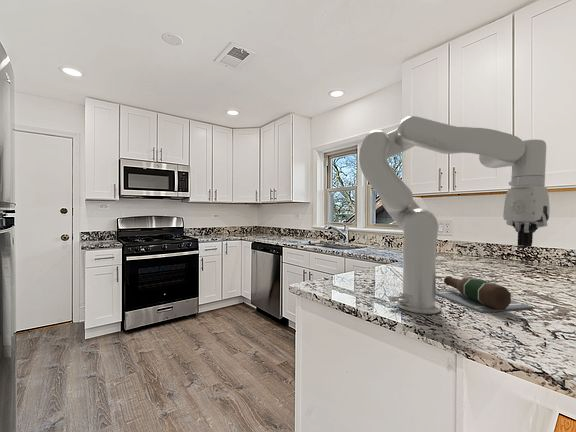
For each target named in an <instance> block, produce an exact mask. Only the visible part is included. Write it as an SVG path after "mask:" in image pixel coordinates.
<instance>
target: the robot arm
mask: <svg viewBox="0 0 576 432" xmlns="http://www.w3.org/2000/svg"><path fill="white" fill-rule="evenodd" d="M414 147H418V148H422V149H426V150H429V151H433V152H437V153H438V154H439V153H440V154H444V155H451V154H462V153H463V154H472V155H473V154H475V155H478V159H479V162H480V164H481V165H483V166H484V167H486V168H490V169H499V168H505V167H506V168H507V167H511V176H510V177H511V179H510V181H508V186H509V187H510V188H508V189H507V192H506V195H505V199H504V204H503V211H502V212H503V215H502V216H503V220H504V221H506V223H505V224H506V225H507V226H510V227H513V228H514V229H515V232H516V233H517V246H518V247H532V246H533V236H534V235H533V234H535V233H536V230H538V229H539V228H546V227H548V221H549V219H550V197H549V192H548V187H547V186H546V184H545V183H546V165H547V162H546V161H547V143H546V141H545V140H543V139H526V140H522V138H520V137H519V136H516V135H514V134H511V133H508V132H504V131H501V130H498V129H497V130H496V129H491V128H485V127H472V126H471V127H468V126H456V125H451V124H447V123H444V122H443V123H442V122H439V121H435V120H432V119H428V118H424V117H421V116H420V117H419V116H417V115H416V116H415V115H410V116H406V117H405V118H403V119H402V120H401V121H400V123H399V124H398V127H397V128H396V129H394V130H392V131H390V132H388V133H386V132H384V131H382V130H380V129H379V130H378V129H376V130H372V131H370V132H369V133H368V134H367V135H366V136H365V137H364V138H363V140H362V142H361V146H360V149H359V152H358V153H359V154H358V161H359V162H358V163H359V167H360V169H361V172H362V174H363V176H364V178H365V179H366V181H367V182H368V183H369V185H370V186H371V188H372V189H373V190H374V192H375V193H376V194H377V196H378V197H379V198H380V202H381V205H382V207H383V208H384V210H385V211H386V213H388V215H389V216H390V217H391V219H392V220H393V221H394V222H395V224H396V225H397V226H398V227H399V228H400V229H401V231H402V232H403V244H402V245H403V246H402V291H399V294H397V295H389V296H388V301H389V302H390V303H393V302H394V303H395V302H397V306H398V307H399V309H402V310H404V311H407V312H410V313H416V314H421V315H422V314H424V315H431V314H432V315H433V314H438V313H440V312H441V310H442V307H441V305H440V304H439V303H436V294H435V291H437V290H436V288H437V287H436V285H437V284H436V280H437V279H436V278H437V274H436V273H437V256H436V255H437V241H438V235H439V224H438V219H437V217H436V216H435V213H433V212H431V211H430V210H427V209H426V208H422V207H420V206H419V205H418V204H417V202H416V201H415V200H414V195H413V192H412V190H411V188H410V187H409V186H408V185H406V183H405V182H404V181H403V180H402V179H401V177H400V176H399V175H398V174H397V173H396V172H395V170H394V169H393V168H392V166H391V165H390V163H389V162H388V159H390V158H393V157H395V156H397V155H399V154H401V153H404V152H406V151H408V150H410V149H412V148H414ZM545 186H546V187H545Z"/></svg>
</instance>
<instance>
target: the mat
mask: <svg viewBox="0 0 576 432" xmlns="http://www.w3.org/2000/svg"><path fill="white" fill-rule="evenodd" d="M435 296H439V297H441V298H443V299H446V300H449V301H450V302H453V303H456V304H458V305H461V306H463V307H465V308H468V309H470V310H474V311H476V312H479V313H480V314H481V313H493V312H505V311H507V312H508V311H509V312H510V311H521V310H532V309H534V306H532V305H530V304H525V303H523V302H519V301H515V300H513V299H511V303H510V304H509V306H508V307H507V308H506V309H504V310H495V309H491V308H489V307H486V306H484V305H481V304H479V303H476V302H474V301H471V300H469V299H467V298H465V297H464V296H463V295H462V294H461V293H460V292H459V291H458V289H443V290H441V289H440V290H435Z"/></svg>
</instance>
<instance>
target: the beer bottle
mask: <svg viewBox="0 0 576 432" xmlns="http://www.w3.org/2000/svg"><path fill="white" fill-rule="evenodd" d="M443 282H444V284H445V285H446V286H447V287H448V286H449V287H452V288H454V289H455V290H458V291H459V292H460V293H461V294H462V295H463V296H464V297H465V298H467V299H469V300H471V301H474V302H476V303H479V304H481V305H484V306H486V307H489V308H491V309H495V310H504V309H506V308H507V307H508V306H509V304H510V303H511V300H512V293H511V292H510V291H509V290H508V289H507V288H506V287H505V286H504V285H501V284H496V283H494V282H490V281H487V280H483V279H479V278H475V277H464V278H461V279H460V278H456V277H453V276H445V277H444V278H443Z"/></svg>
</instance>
